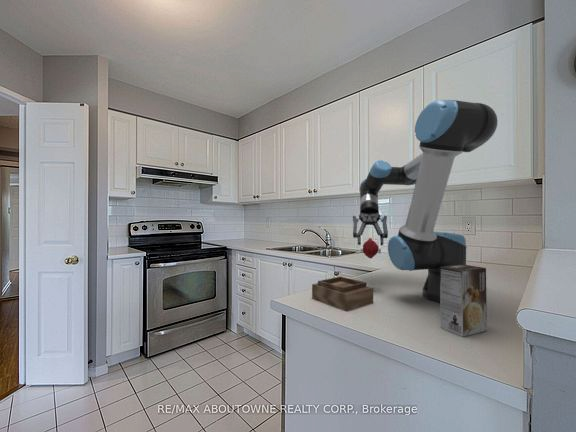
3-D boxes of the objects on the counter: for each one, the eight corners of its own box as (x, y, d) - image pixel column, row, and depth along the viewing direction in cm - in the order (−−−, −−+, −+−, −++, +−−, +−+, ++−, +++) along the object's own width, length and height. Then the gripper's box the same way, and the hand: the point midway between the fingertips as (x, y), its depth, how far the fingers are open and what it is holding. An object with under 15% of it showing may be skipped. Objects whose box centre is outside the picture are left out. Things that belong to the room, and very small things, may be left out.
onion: (379, 259, 102) (378, 238, 102) (362, 259, 103) (362, 238, 103) (377, 257, 108) (377, 236, 107) (362, 257, 109) (362, 236, 109)
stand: (373, 303, 92) (373, 283, 92) (346, 311, 84) (346, 289, 84) (337, 292, 105) (337, 275, 105) (312, 298, 97) (312, 280, 97)
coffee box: (462, 322, 75) (462, 263, 75) (487, 331, 70) (487, 267, 70) (439, 327, 72) (439, 266, 72) (463, 337, 66) (463, 270, 66)
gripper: (391, 213, 118) (396, 257, 102) (347, 213, 122) (345, 256, 107) (393, 200, 112) (398, 245, 97) (346, 201, 117) (344, 244, 102)
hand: (370, 251), depth 102 cm, fingers closed on onion, 6 cm apart
